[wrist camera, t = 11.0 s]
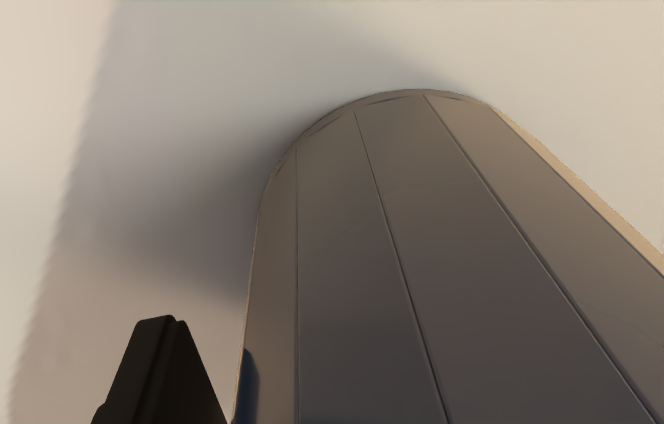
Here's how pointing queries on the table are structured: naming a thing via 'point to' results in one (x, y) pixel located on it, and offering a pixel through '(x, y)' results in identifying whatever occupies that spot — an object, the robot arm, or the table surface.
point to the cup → (444, 279)
